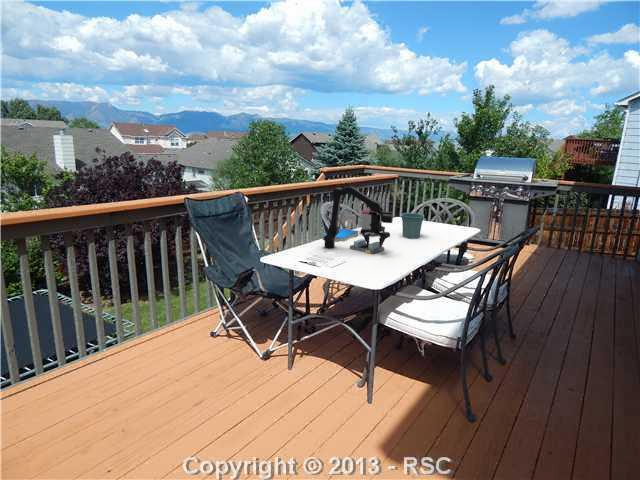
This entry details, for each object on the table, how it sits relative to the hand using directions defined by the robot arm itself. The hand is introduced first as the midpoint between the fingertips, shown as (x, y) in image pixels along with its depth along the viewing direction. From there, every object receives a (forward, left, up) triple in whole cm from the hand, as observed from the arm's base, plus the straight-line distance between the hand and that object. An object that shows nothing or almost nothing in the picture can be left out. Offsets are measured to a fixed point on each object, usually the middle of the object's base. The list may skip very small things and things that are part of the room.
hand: (374, 246), depth 255 cm
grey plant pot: (+40, +30, -4) cm, 50 cm away
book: (+17, +40, -5) cm, 43 cm away
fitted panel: (0, +11, -3) cm, 12 cm away
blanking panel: (0, 0, -3) cm, 3 cm away
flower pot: (+54, +4, -4) cm, 54 cm away
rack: (0, +6, -4) cm, 7 cm away
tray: (-35, +15, -5) cm, 39 cm away
